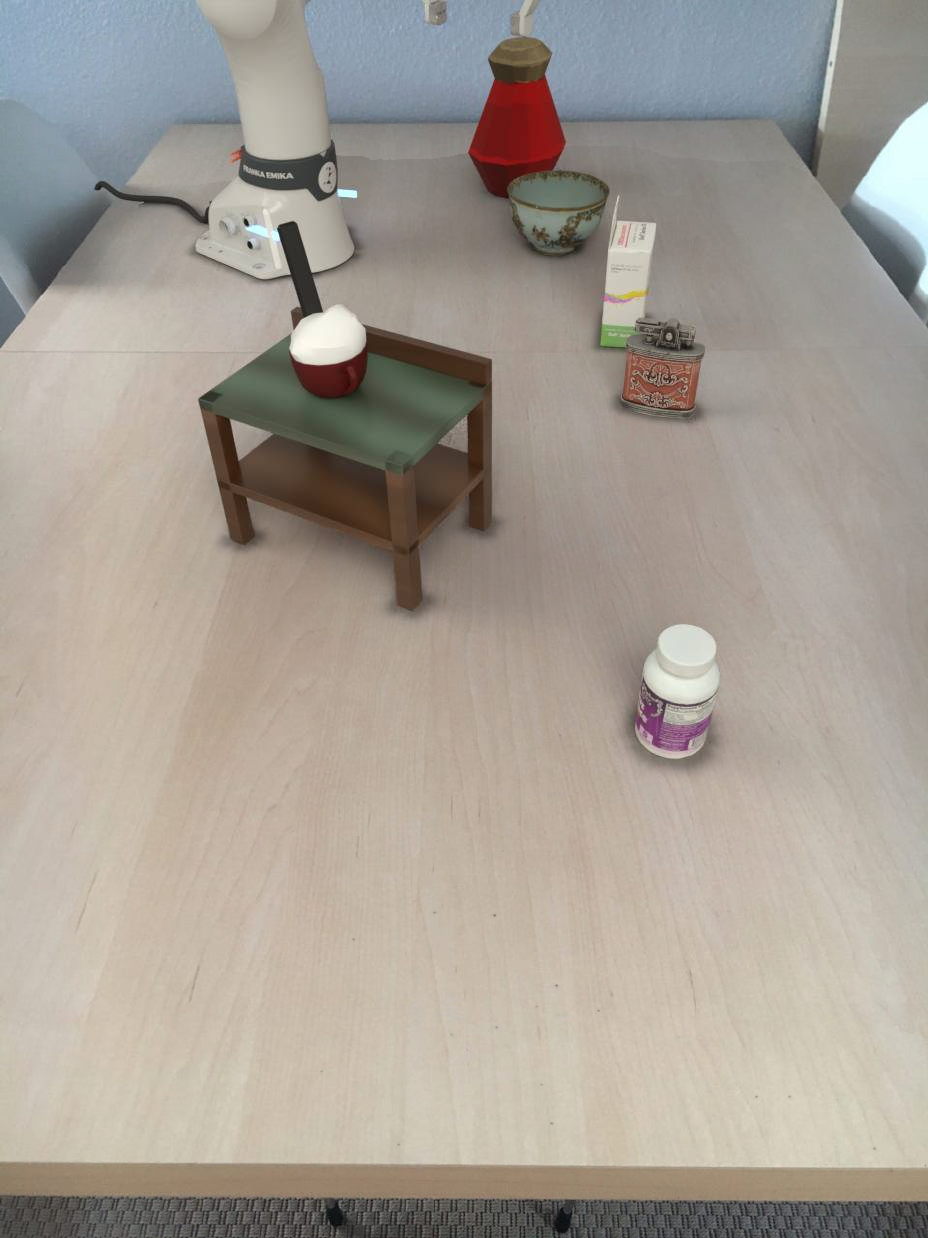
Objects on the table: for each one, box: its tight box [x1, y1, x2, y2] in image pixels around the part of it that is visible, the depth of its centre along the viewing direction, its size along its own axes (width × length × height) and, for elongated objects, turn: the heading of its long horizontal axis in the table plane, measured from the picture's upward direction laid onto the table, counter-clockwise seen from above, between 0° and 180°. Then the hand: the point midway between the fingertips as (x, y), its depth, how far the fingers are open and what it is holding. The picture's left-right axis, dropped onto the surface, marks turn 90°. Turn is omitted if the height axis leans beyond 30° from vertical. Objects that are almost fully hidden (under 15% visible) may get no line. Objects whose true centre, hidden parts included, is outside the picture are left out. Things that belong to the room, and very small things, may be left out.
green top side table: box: [197, 306, 493, 612], centre depth 86 cm, size 14×20×17 cm
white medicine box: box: [599, 194, 657, 349], centre depth 114 cm, size 9×5×15 cm, turn 168°
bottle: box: [467, 36, 567, 199], centre depth 146 cm, size 16×14×20 cm
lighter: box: [619, 317, 706, 419], centre depth 103 cm, size 8×3×10 cm, turn 71°
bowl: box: [507, 170, 610, 257], centre depth 134 cm, size 14×13×8 cm
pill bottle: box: [634, 623, 721, 760], centre depth 71 cm, size 5×5×10 cm
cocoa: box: [277, 221, 368, 398], centre depth 78 cm, size 10×6×12 cm, turn 8°
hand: (477, 28), depth 95 cm, fingers open, 8 cm apart
